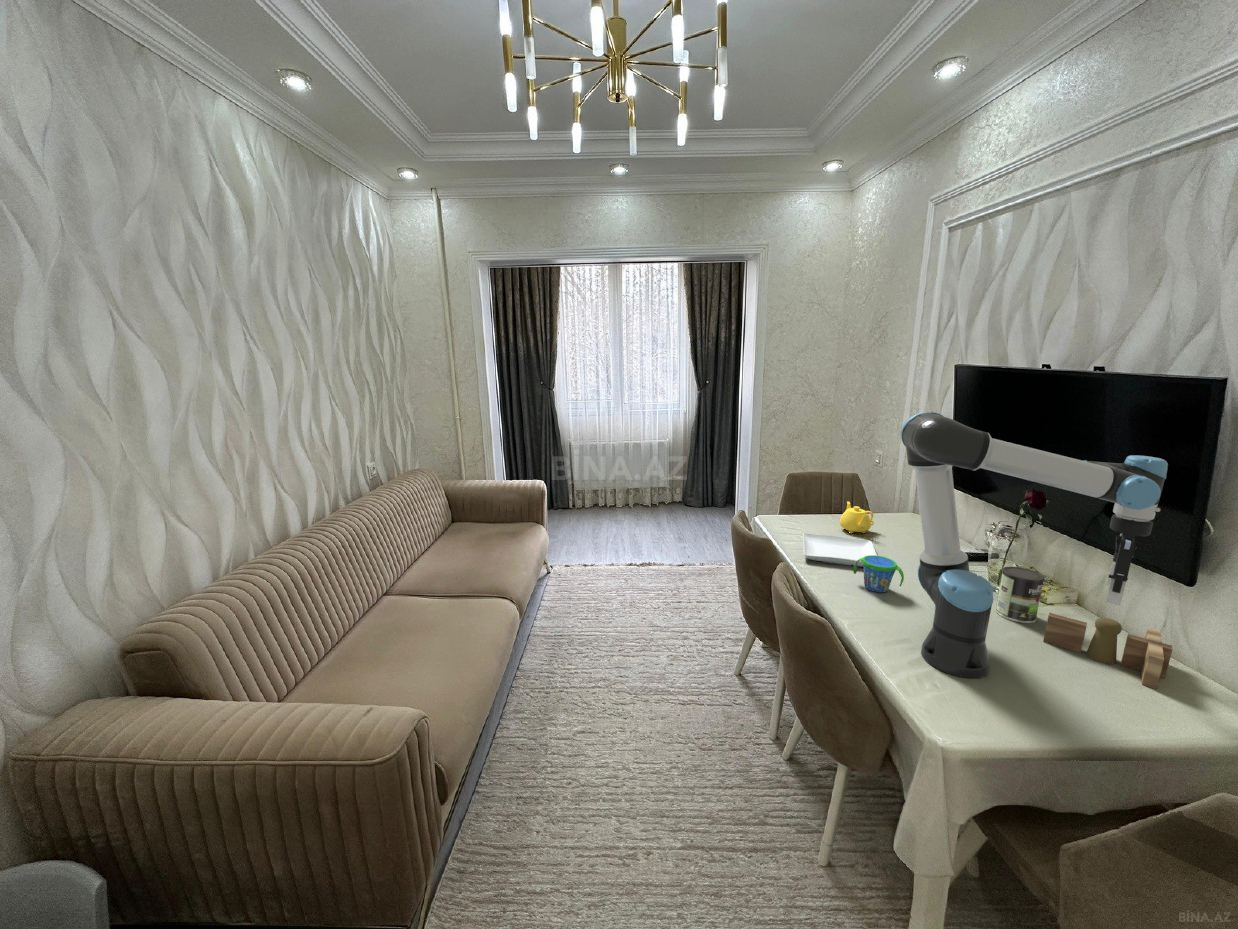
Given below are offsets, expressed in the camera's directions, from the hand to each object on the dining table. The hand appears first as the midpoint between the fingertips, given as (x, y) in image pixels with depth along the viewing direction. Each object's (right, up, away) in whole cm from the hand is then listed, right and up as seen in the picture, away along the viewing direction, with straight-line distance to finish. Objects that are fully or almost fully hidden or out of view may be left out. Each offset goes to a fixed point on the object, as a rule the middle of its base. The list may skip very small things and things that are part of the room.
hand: (1113, 594), depth 135 cm
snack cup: (-40, -9, +43) cm, 60 cm away
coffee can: (-6, -13, +26) cm, 29 cm away
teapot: (-21, +4, +101) cm, 103 cm away
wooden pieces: (0, -18, +4) cm, 18 cm away
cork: (0, -18, +4) cm, 18 cm away
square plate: (-41, -3, +73) cm, 84 cm away
